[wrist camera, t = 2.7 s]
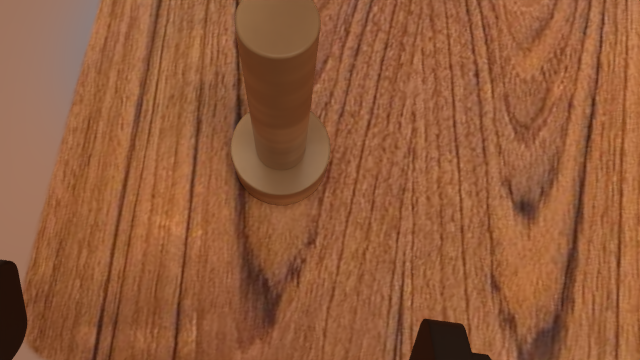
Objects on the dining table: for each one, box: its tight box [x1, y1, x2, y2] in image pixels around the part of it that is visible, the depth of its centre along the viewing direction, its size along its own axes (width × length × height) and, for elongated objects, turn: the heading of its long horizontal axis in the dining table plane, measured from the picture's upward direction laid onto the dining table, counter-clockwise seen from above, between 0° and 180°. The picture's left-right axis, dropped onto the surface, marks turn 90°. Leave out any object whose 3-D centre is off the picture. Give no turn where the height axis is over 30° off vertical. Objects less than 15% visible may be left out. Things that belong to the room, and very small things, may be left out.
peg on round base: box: [231, 0, 330, 205], centre depth 19 cm, size 4×4×12 cm
